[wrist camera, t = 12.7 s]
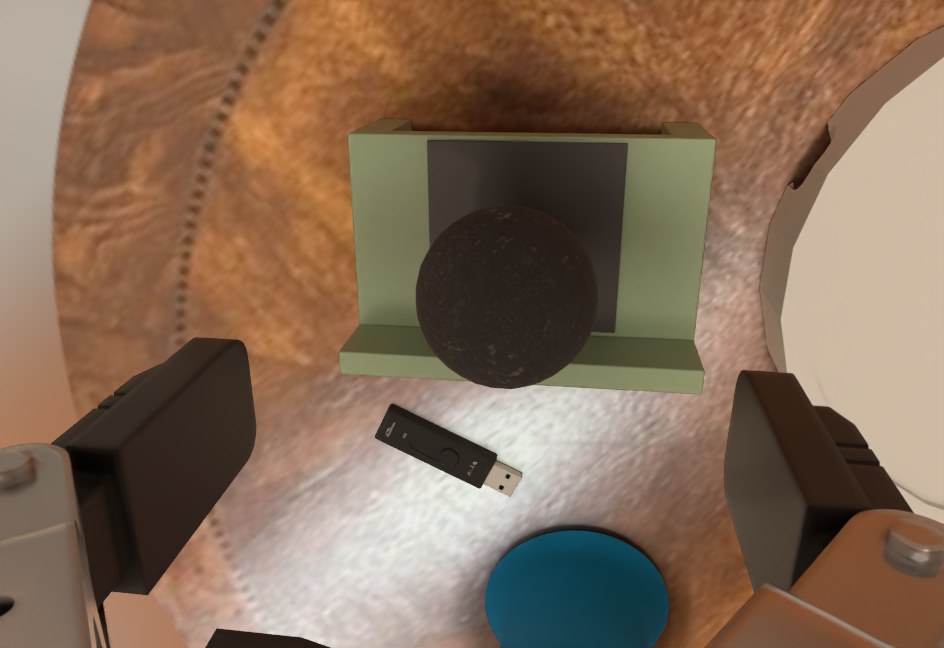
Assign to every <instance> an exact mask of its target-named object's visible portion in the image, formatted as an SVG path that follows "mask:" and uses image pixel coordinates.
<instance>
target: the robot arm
mask: <svg viewBox="0 0 944 648" xmlns="http://www.w3.org/2000/svg"><path fill="white" fill-rule="evenodd" d="M255 437H256V419H255V411H254V403H253V394H252V386H251V378H250V370H249V361H248V354H247V350H246V347H245V345H244V344H243V342H242V341H240V340H233V339H215V338H198V337H196V338H193V339H192V340H190V341H189V342H188V343H187V344H186V345H184V346H183V347H182V348H181V349H180V350H178V351H177V352H176V353H175V354H174V355H172V356H171V357H170V358H169V359H168V360H166V361H165V362H164V363H162V364H160V365H158V366H155V367H153V368H151V369H149V370H147V371H144V372H142V373H140V374H138V375H136V376H133V377H132V378H131V379H130V380H129V381H127V382H126V383H125V384H124V385H122V386H121V387H120V388H119V389H117V390H116V391H115V392H114V396H112V395H110V396H109V397H108V398H106V399H105V400H104V401H103V402H101V403H100V404H99V405H98V409H93V410H92V411H90V412H89V413H88V414H87V415H85V416H84V417H83V418H82V419H81V420H79V421H78V422H77V423H76V424H74V425H73V426H72V427H71V428H70V429H68V430H67V431H66V432H65V433H63V434H62V435H61V436H60V437H58V438H57V439H56V440H55V441H54V442H52V443H51V444H45V443H29V444H21V445H15V446H10V447H6V448H2V449H0V648H112V643H111V637H110V631H109V625H108V620H107V615H106V611H105V606H104V602H103V601H104V600H105V599H106V598H107V596H108V595H109V594H110V593H111V592H112V591H113V592H122V593H132V594H142V595H148V594H149V593H150V591H151V590H152V589H153V587H154V586H155V585H156V583H157V582H158V581H159V579H160V578H161V577H162V575H163V574H164V573H165V571H166V570H167V569H168V567H169V566H170V565H171V563H172V562H173V561H174V559H175V558H176V556H177V555H178V554H179V552H180V551H181V550H182V548H183V547H184V546H185V544H186V543H187V542H188V540H189V539H190V538H191V536H192V535H193V534H194V532H195V531H196V530H197V528H198V527H199V526H200V524H201V523H202V521H203V520H204V519H205V517H206V516H207V515H208V513H209V512H210V511H211V509H212V508H213V507H214V505H215V504H216V503H217V501H218V500H219V499H220V497H221V496H222V495H223V493H224V492H225V491H226V489H227V488H228V487H229V485H230V484H231V482H232V481H233V480H234V478H235V477H236V476H237V474H238V473H239V472H240V470H241V469H242V468H243V466H244V465H245V464H246V462H247V461H248V459H249V458H250V456H251V453H252V451H253V447H254V443H255ZM724 488H725V495H726V500H727V503H728V506H729V510H730V513H731V516H732V520H733V523H734V526H735V530H736V533H737V536H738V540H739V543H740V546H741V550H742V553H743V556H744V560H745V563H746V566H747V570H748V573H749V576H750V580H751V583H752V586H753V590H754V594H753V595H752V596H751V597H750V598H749V599H748V601H747V602H746V603H745V604H744V605H743V606H742V607H741V608H740V609H739V610H738V612H737V613H736V614H735V615H734V616H733V617H732V618H731V619H730V620H729V621H728V622H727V624H726V625H725V626H724V627H723V628H722V629H721V630H720V631H719V632H718V633H717V635H716V636H715V637H714V638H713V639H712V640H711V641H710V642H709V643H708V644H707V645H706V647H705V648H944V524H942V523H940V522H938V521H936V520H933V519H930V518H928V517H925V516H922V515H918V514H915V513H914V512H913V511H912V509H911V508H910V506H909V505H908V503H907V502H906V500H905V499H904V497H903V496H902V494H901V493H900V491H899V490H898V488H897V487H896V485H895V484H894V482H893V481H892V479H891V478H890V476H889V475H888V473H887V472H886V470H885V469H884V467H883V466H880V461H879V460H878V458H877V457H876V455H875V454H874V452H873V451H872V449H869V445H868V443H867V442H866V440H865V439H864V437H863V436H862V434H861V433H860V431H859V430H858V428H857V427H856V425H855V424H853V423H852V422H850V421H849V420H848V419H846V418H845V417H843V416H842V415H840V414H839V413H838V412H836V411H835V410H833V409H832V408H830V407H829V406H813V405H812V403H811V402H810V400H809V398H808V397H807V395H806V393H805V391H804V390H803V388H802V386H801V385H800V383H799V381H798V380H797V378H796V376H795V375H794V374H793V373H783V372H766V371H748V370H742V371H741V372H740V374H739V376H738V379H737V383H736V388H735V395H734V401H733V408H732V414H731V421H730V427H729V434H728V440H727V447H726V454H725V461H724ZM206 648H330V647H327V646H324V645H321V644H318V643H316V642H313V641H310V640H307V639H304V638H300V637H291V636H282V635H272V634H263V633H254V632H244V631H235V630H225V629H216V631H215V632H214V634H213V636H212V637H211V639H210V641H209V642H208V644H207V646H206Z"/></svg>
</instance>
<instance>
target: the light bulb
mask: <svg viewBox="0 0 944 648" xmlns="http://www.w3.org/2000/svg"><path fill="white" fill-rule="evenodd" d="M598 300H599V296H598V285H597V277H596V274H595V271H594V268H593V265H592V262H591V259H590V257H589V255H588V254H587V252H586V250H585V248H584V247H583V245H582V244H581V243H580V241H579V240H578V239H577V237H576V236H575V235H574V234H573V233H572V232H571V231H570V230H569V229H568V228H567V227H566V226H565V225H563V224H562V223H561V222H559V221H558V220H556V219H555V218H553V217H551V216H549V215H547V214H546V213H544V212H542V211H538V210H535V209H531V208H527V207H523V206H511V205H497V206H493V207H487V208H484V209H480V210H476V211H474V212H472V213H470V214H468V215H466V216H464V217H462V218H460V219H459V220H457V221H455V222H454V223H452V224H451V225H450V226H449V227H448V228H447V229H445V230H444V231H443V232H442V233H441V234H440V235H439V236H438V237H437V239H436V240H435V241H434V242H433V244H432V246H431V247H430V248H429V250H428V252H427V254H426V256H425V258H424V260H423V262H422V264H421V266H420V270H419V275H418V279H417V284H416V311H417V318H418V321H419V324H420V327H421V330H422V332H423V334H424V337H425V339H426V341H427V343H428V345H429V346H430V348H431V349H432V350H433V352H434V353H435V355H436V356H437V357H438V358H439V359H440V360H441V361H442V362H443V363H444V364H445V365H446V366H447V367H448V368H449V369H451V370H452V371H454V372H455V373H457V374H458V375H459V376H461V377H463V378H465V379H467V380H469V381H472V382H474V383H476V384H480V385H483V386H487V387H491V388H505V389H514V388H520V387H525V386H530V385H534V384H537V383H540V382H542V381H544V380H546V379H548V378H550V377H552V376H554V375H555V374H557V373H558V372H559V371H561V370H562V369H563V368H565V367H566V366H567V365H569V364H570V363H571V362H572V361H573V360H574V358H575V357H576V356H577V355H578V354H579V353H580V351H581V350H582V349H583V347H584V345H585V344H586V342H587V340H588V338H589V337H590V335H591V332H592V330H593V326H594V322H595V319H596V315H597V306H598Z"/></svg>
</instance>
